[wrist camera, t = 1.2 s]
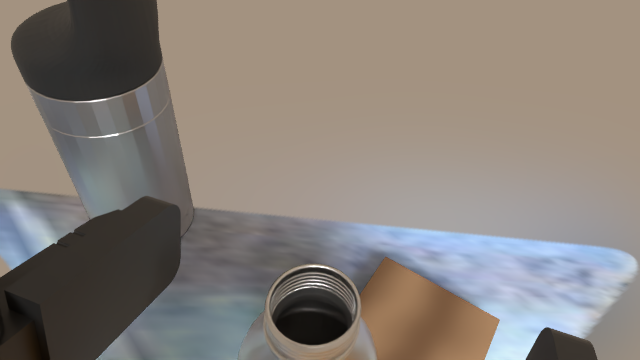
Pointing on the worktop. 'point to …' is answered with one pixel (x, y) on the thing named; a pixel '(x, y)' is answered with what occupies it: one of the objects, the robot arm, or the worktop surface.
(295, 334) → the plastic bottle
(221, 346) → the worktop surface
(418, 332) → the pegged shelf
